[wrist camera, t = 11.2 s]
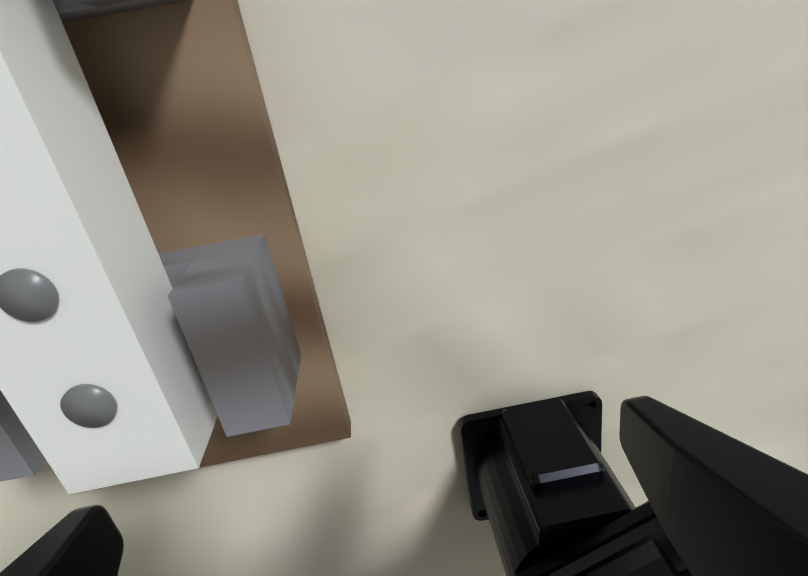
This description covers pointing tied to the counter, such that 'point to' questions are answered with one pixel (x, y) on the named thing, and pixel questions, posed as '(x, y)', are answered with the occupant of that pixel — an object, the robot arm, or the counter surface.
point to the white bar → (83, 280)
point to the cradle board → (209, 221)
